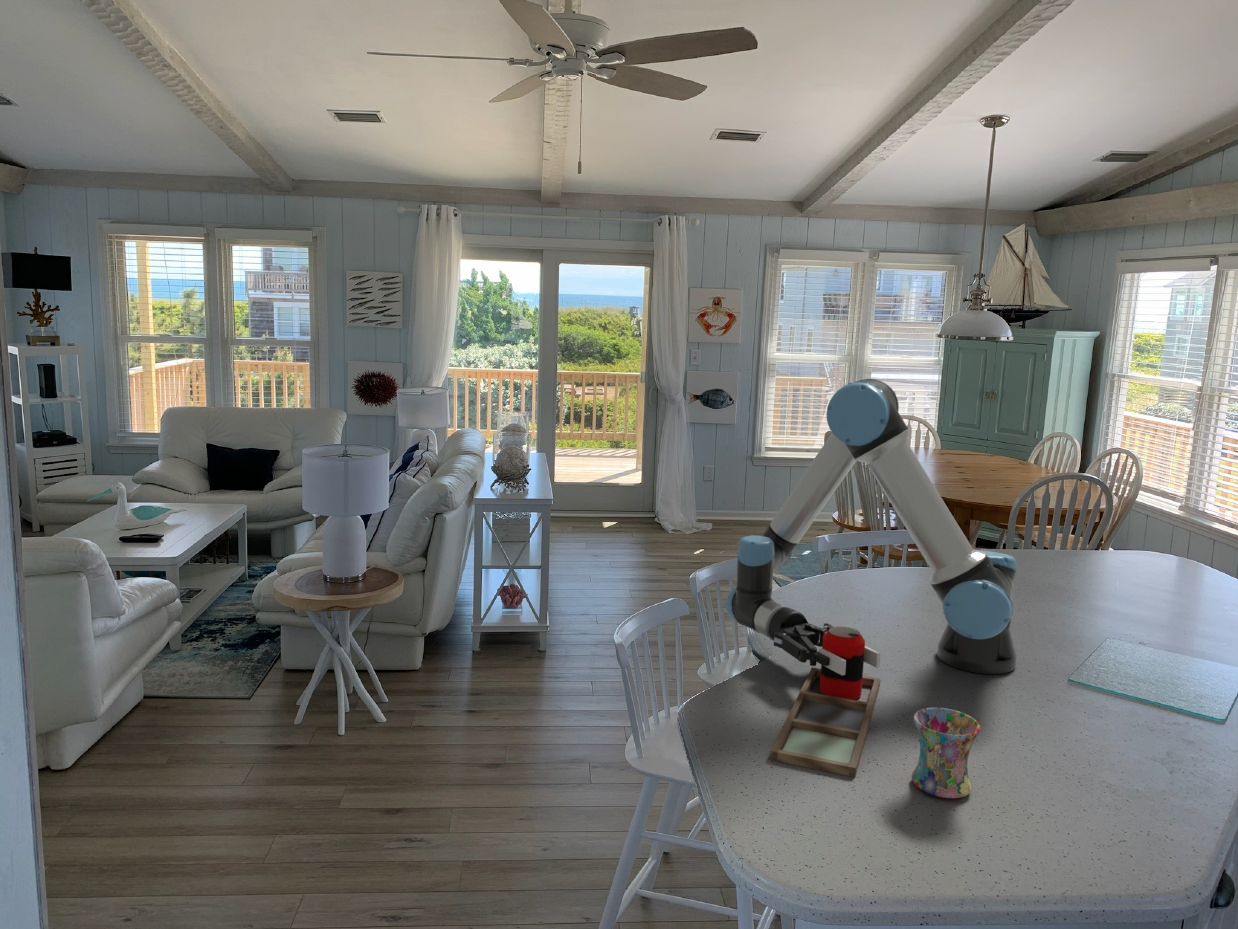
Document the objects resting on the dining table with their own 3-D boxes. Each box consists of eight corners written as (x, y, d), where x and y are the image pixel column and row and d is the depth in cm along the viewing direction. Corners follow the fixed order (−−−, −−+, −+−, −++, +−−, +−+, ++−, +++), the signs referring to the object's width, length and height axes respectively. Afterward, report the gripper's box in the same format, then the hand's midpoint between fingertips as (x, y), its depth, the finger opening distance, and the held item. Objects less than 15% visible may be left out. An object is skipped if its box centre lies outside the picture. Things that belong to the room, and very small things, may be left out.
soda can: (845, 705, 159) (850, 642, 157) (811, 691, 165) (815, 630, 163) (869, 694, 164) (873, 633, 162) (835, 681, 170) (839, 622, 168)
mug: (916, 765, 138) (921, 702, 136) (979, 782, 133) (985, 717, 131) (897, 800, 128) (902, 732, 126) (964, 820, 123) (971, 749, 121)
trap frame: (879, 686, 168) (880, 678, 168) (855, 777, 134) (855, 768, 134) (811, 674, 173) (811, 667, 172) (770, 759, 139) (771, 751, 138)
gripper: (819, 634, 184) (901, 674, 164) (739, 649, 175) (816, 693, 155) (821, 600, 183) (904, 635, 163) (741, 613, 173) (818, 653, 153)
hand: (861, 664), depth 159 cm, fingers closed on soda can, 7 cm apart
